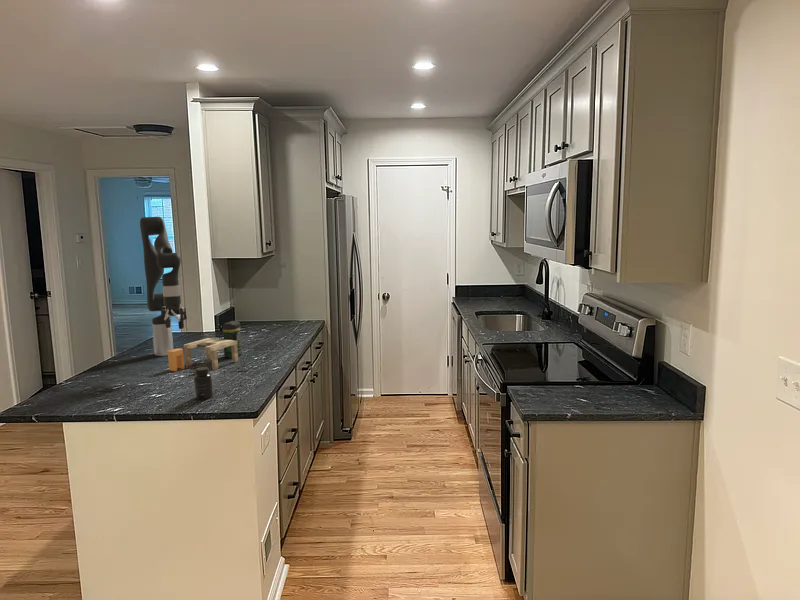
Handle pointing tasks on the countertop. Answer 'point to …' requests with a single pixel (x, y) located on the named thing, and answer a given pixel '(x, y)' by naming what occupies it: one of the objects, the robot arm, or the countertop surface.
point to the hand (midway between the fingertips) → (174, 328)
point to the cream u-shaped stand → (211, 350)
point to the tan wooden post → (176, 359)
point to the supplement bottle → (203, 383)
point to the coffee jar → (232, 337)
